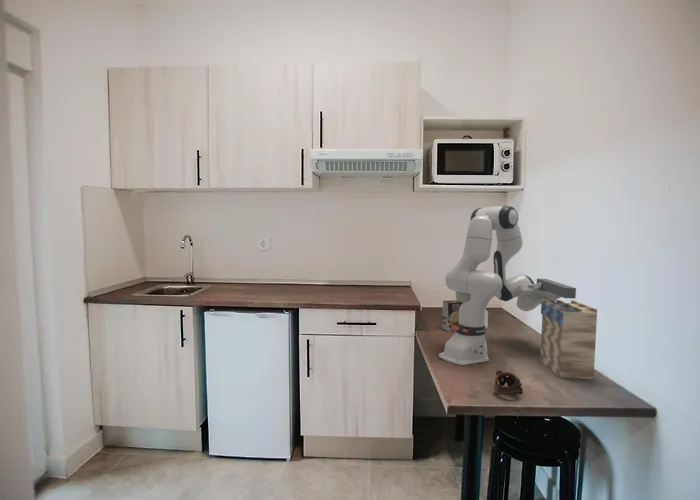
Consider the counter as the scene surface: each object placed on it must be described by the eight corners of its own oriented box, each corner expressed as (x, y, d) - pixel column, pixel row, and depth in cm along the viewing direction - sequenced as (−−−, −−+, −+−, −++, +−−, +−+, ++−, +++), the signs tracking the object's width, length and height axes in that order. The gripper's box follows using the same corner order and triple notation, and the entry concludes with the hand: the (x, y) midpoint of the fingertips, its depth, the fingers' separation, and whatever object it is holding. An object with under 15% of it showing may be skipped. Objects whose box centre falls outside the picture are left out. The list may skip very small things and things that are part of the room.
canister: (488, 317, 235) (489, 285, 234) (465, 319, 229) (466, 286, 227) (470, 311, 252) (471, 281, 251) (448, 313, 246) (449, 282, 244)
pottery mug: (531, 398, 124) (526, 381, 121) (507, 411, 123) (502, 394, 120) (508, 375, 135) (503, 360, 132) (486, 387, 134) (481, 372, 131)
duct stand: (538, 360, 158) (541, 299, 156) (569, 362, 157) (572, 300, 155) (558, 377, 140) (561, 308, 138) (593, 379, 139) (597, 309, 137)
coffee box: (448, 331, 202) (448, 303, 201) (441, 328, 208) (442, 300, 207) (462, 330, 205) (462, 302, 204) (455, 327, 211) (456, 299, 210)
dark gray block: (575, 298, 140) (576, 288, 139) (564, 298, 140) (565, 287, 140) (545, 287, 165) (545, 278, 165) (536, 287, 166) (536, 278, 166)
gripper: (512, 287, 173) (522, 277, 161) (556, 289, 171) (570, 278, 159) (514, 300, 171) (524, 290, 158) (559, 301, 169) (573, 291, 156)
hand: (547, 284), depth 159 cm, fingers closed on dark gray block, 4 cm apart
